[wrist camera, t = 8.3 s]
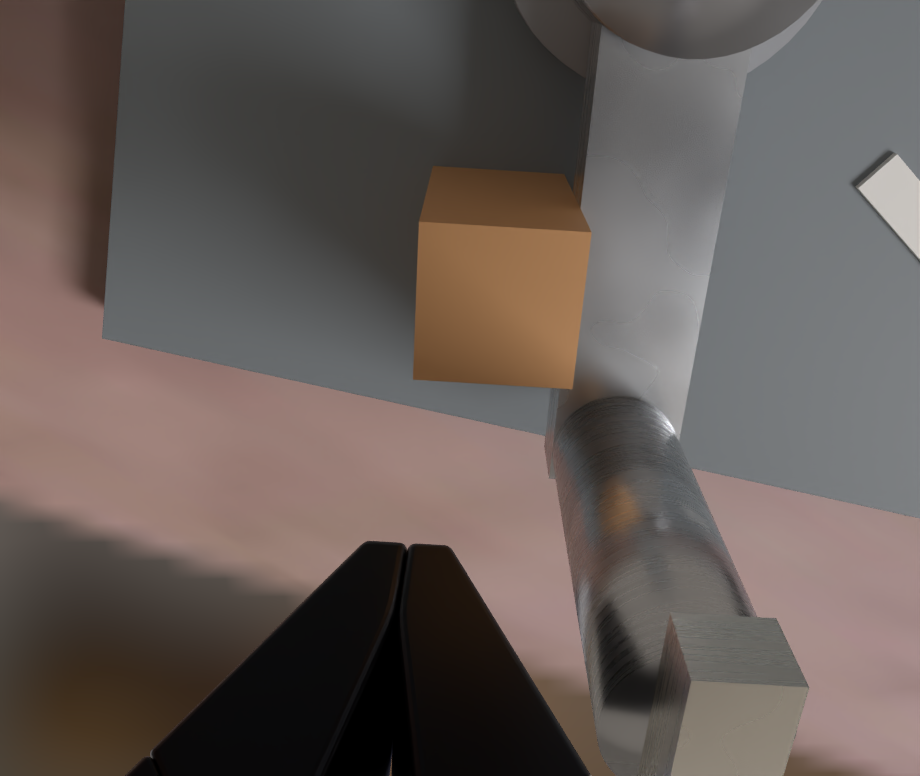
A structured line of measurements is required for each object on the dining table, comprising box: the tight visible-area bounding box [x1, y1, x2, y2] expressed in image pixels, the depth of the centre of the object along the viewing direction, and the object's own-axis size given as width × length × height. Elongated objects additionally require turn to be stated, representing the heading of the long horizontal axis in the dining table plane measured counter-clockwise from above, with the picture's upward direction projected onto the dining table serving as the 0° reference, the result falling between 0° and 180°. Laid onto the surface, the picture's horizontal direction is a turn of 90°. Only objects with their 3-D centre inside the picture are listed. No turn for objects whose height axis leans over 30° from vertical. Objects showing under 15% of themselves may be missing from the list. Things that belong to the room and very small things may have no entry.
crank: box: [544, 0, 817, 776], centre depth 9 cm, size 10×3×7 cm, turn 177°
